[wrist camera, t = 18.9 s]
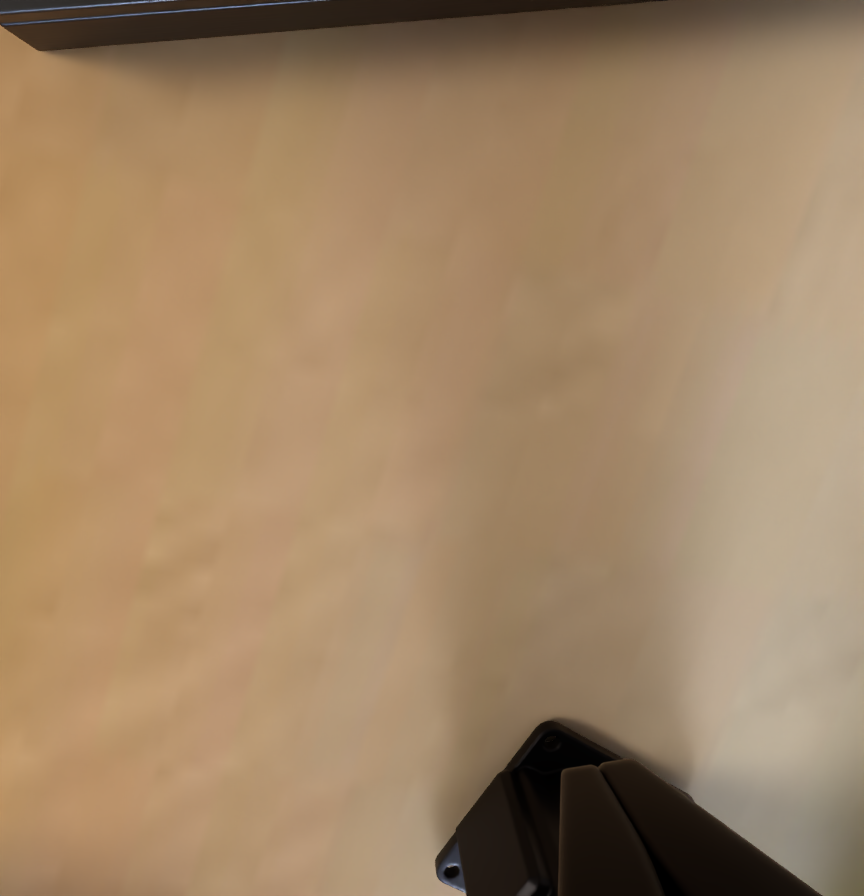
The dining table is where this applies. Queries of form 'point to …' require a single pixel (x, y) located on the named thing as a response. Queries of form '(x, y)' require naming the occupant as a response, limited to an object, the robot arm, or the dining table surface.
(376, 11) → the dark flat rectangular base
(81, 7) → the netbook screen
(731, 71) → the dining table surface
